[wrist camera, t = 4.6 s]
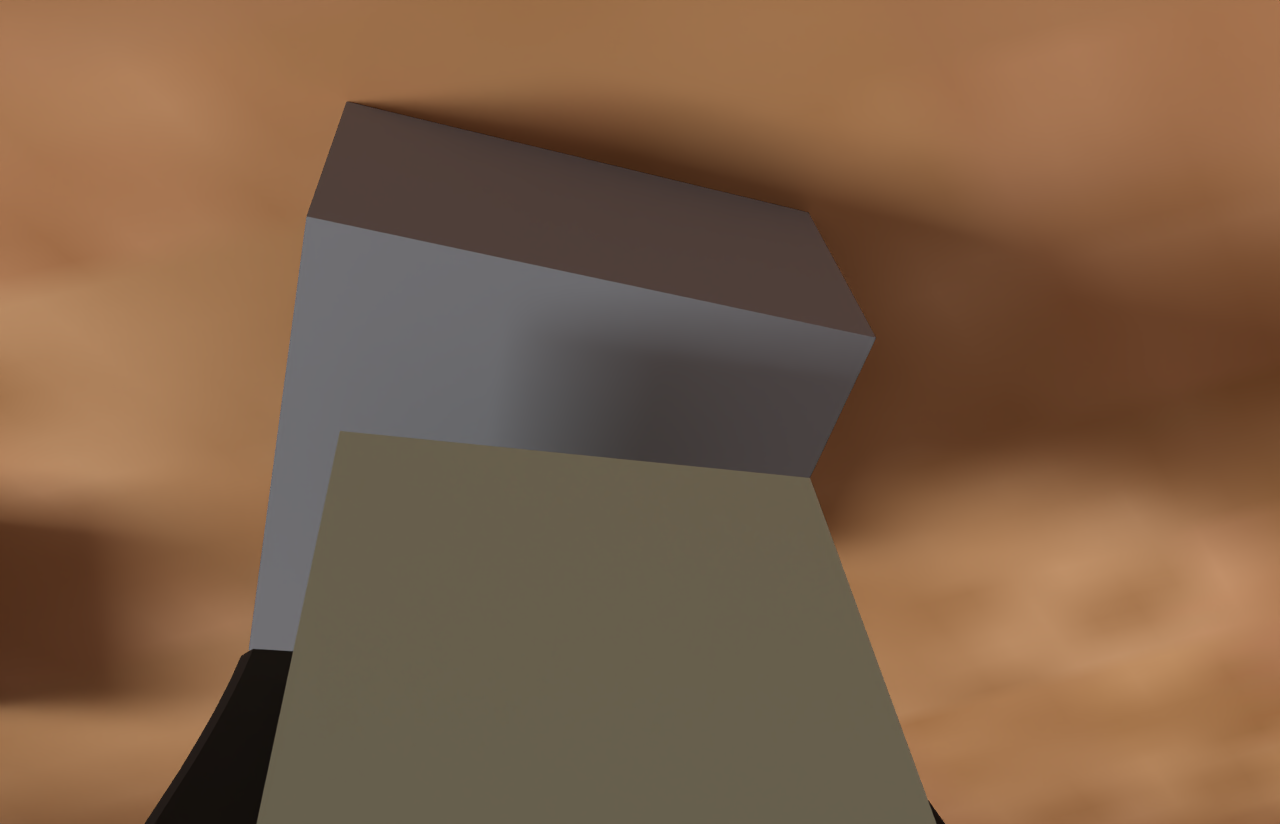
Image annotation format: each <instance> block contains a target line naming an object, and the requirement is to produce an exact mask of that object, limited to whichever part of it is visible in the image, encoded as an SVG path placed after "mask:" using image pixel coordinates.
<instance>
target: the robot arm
mask: <svg viewBox="0 0 1280 824" xmlns="http://www.w3.org/2000/svg"><path fill="white" fill-rule="evenodd" d="M292 654H293V651H282V650H266V649H252V650H250V651H249V652H247V653H245V654H244V655H242V656H241V658H240V660H239V662H238V664H237V667H236V669H235V671H234V673H233V676H232V678H231V680H230V682H229V684H228V686H227V688H226V690H225V692H224V694H223V696H222V698H221V699H220V701H219V703H218V705H217V707H216V709H215V711H214V713H213V714H212V716H211V718H210V720H209V722H208V723H207V725H206V727H205V729H204V730H203V732H202V734H201V736H200V737H199V739H198V741H197V742H196V744H195V746H194V747H193V749H192V751H191V752H190V754H189V756H188V757H187V759H186V761H185V762H184V764H183V766H182V767H181V769H180V770H179V772H178V774H177V775H176V777H175V778H174V780H173V781H172V783H171V784H170V786H169V787H168V789H167V790H166V792H165V793H164V795H163V797H162V798H161V800H160V801H159V803H158V804H157V806H156V807H155V809H154V810H153V812H152V813H151V815H150V816H149V818H148V819H147V821H146V822H145V824H257V819H258V815H259V810H260V805H261V801H262V796H263V791H264V786H265V782H266V777H267V772H268V768H269V763H270V758H271V753H272V749H273V744H274V739H275V735H276V730H277V725H278V720H279V716H280V711H281V706H282V702H283V697H284V692H285V687H286V683H287V678H288V673H289V669H290V664H291V659H292ZM928 802H929V801H928ZM929 805H930V807H931V810H932V813H933V816H934V818H935V821H936V824H945V823H944V822H943V820H942V819H941V817H940V816H939V815H938V813H937V812H936V810H935V809H934V808H933V806H932V805H931V803H930V802H929Z"/></svg>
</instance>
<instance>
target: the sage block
mask: <svg viewBox="0 0 1280 824" xmlns="http://www.w3.org/2000/svg"><path fill="white" fill-rule="evenodd" d="M257 824H936V821H935V818H934V816H933V813H932V810H931V807H930V805H929V802H928V799H927V796H926V794H925V791H924V788H923V786H922V783H921V780H920V777H919V775H918V772H917V769H916V766H915V764H914V761H913V758H912V755H911V753H910V750H909V747H908V745H907V742H906V739H905V736H904V734H903V731H902V728H901V725H900V723H899V720H898V717H897V714H896V712H895V709H894V706H893V704H892V701H891V698H890V695H889V693H888V690H887V687H886V684H885V682H884V679H883V676H882V673H881V671H880V668H879V665H878V662H877V660H876V657H875V654H874V652H873V649H872V646H871V643H870V641H869V638H868V635H867V632H866V630H865V627H864V624H863V621H862V619H861V616H860V613H859V611H858V608H857V605H856V602H855V600H854V597H853V594H852V591H851V589H850V586H849V583H848V580H847V578H846V575H845V572H844V570H843V567H842V564H841V561H840V559H839V556H838V553H837V550H836V548H835V545H834V542H833V539H832V537H831V534H830V531H829V528H828V526H827V523H826V520H825V518H824V515H823V512H822V509H821V507H820V504H819V501H818V498H817V496H816V493H815V490H814V487H813V485H812V482H811V479H810V478H805V477H795V476H785V475H775V474H765V473H755V472H745V471H735V470H726V469H716V468H706V467H696V466H686V465H676V464H666V463H656V462H646V461H636V460H626V459H616V458H606V457H596V456H586V455H576V454H566V453H556V452H546V451H536V450H526V449H516V448H506V447H496V446H486V445H476V444H466V443H456V442H446V441H436V440H426V439H416V438H406V437H396V436H386V435H376V434H366V433H356V432H346V431H340V433H339V438H338V442H337V447H336V452H335V456H334V461H333V466H332V471H331V475H330V480H329V485H328V489H327V494H326V499H325V504H324V508H323V513H322V518H321V522H320V527H319V532H318V537H317V541H316V546H315V551H314V555H313V560H312V565H311V570H310V574H309V579H308V584H307V588H306V593H305V598H304V603H303V607H302V612H301V617H300V621H299V626H298V631H297V636H296V640H295V645H294V650H293V654H292V659H291V664H290V669H289V673H288V678H287V683H286V687H285V692H284V697H283V702H282V706H281V711H280V716H279V720H278V725H277V730H276V735H275V739H274V744H273V749H272V753H271V758H270V763H269V768H268V772H267V777H266V782H265V786H264V791H263V796H262V801H261V805H260V810H259V815H258V819H257Z"/></svg>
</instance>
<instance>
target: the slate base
mask: <svg viewBox="0 0 1280 824" xmlns="http://www.w3.org/2000/svg"><path fill="white" fill-rule="evenodd" d="M875 339H876V337H875V335H874V333H873V331H872V329H871V328H870V326H869V324H868V322H867V320H866V318H865V316H864V315H863V313H862V311H861V309H860V307H859V305H858V303H857V302H856V300H855V298H854V296H853V294H852V292H851V290H850V289H849V287H848V285H847V283H846V281H845V279H844V277H843V276H842V274H841V272H840V270H839V268H838V266H837V265H836V263H835V261H834V259H833V257H832V255H831V253H830V252H829V250H828V248H827V246H826V244H825V242H824V240H823V239H822V237H821V235H820V233H819V231H818V229H817V227H816V226H815V224H814V222H813V220H812V218H811V216H810V214H809V213H808V212H805V211H800V210H796V209H792V208H788V207H784V206H780V205H775V204H771V203H767V202H763V201H759V200H755V199H750V198H746V197H742V196H738V195H734V194H730V193H726V192H721V191H717V190H713V189H709V188H705V187H701V186H696V185H692V184H688V183H684V182H680V181H676V180H671V179H667V178H663V177H659V176H655V175H651V174H647V173H642V172H638V171H634V170H630V169H626V168H622V167H617V166H613V165H609V164H605V163H601V162H597V161H592V160H588V159H584V158H580V157H576V156H572V155H568V154H563V153H559V152H555V151H551V150H547V149H543V148H538V147H534V146H530V145H526V144H522V143H518V142H513V141H509V140H505V139H501V138H497V137H493V136H489V135H484V134H480V133H476V132H472V131H468V130H464V129H459V128H455V127H451V126H447V125H443V124H439V123H434V122H430V121H426V120H422V119H418V118H414V117H410V116H405V115H401V114H397V113H393V112H389V111H385V110H380V109H376V108H372V107H368V106H364V105H360V104H355V103H351V102H346V105H345V108H344V111H343V114H342V117H341V119H340V122H339V125H338V128H337V131H336V134H335V137H334V139H333V142H332V145H331V148H330V151H329V154H328V157H327V159H326V162H325V165H324V168H323V171H322V174H321V177H320V180H319V182H318V185H317V188H316V191H315V194H314V197H313V200H312V202H311V205H310V208H309V211H308V214H307V217H306V225H305V232H304V240H303V247H302V255H301V262H300V270H299V277H298V285H297V292H296V300H295V307H294V315H293V322H292V330H291V337H290V345H289V352H288V360H287V367H286V375H285V382H284V390H283V397H282V405H281V412H280V420H279V427H278V435H277V442H276V450H275V457H274V465H273V472H272V480H271V487H270V495H269V502H268V510H267V517H266V525H265V532H264V540H263V547H262V555H261V562H260V570H259V577H258V585H257V592H256V600H255V607H254V614H253V622H252V629H251V637H250V644H249V650H252V649H266V650H282V651H293V650H294V645H295V640H296V636H297V631H298V626H299V621H300V617H301V612H302V607H303V603H304V598H305V593H306V588H307V584H308V579H309V574H310V570H311V565H312V560H313V555H314V551H315V546H316V541H317V537H318V532H319V527H320V522H321V518H322V513H323V508H324V504H325V499H326V494H327V489H328V485H329V480H330V475H331V471H332V466H333V461H334V456H335V452H336V447H337V442H338V438H339V433H340V431H346V432H356V433H366V434H376V435H386V436H396V437H406V438H416V439H426V440H436V441H446V442H456V443H466V444H476V445H486V446H496V447H506V448H516V449H526V450H536V451H546V452H556V453H566V454H576V455H586V456H596V457H606V458H616V459H626V460H636V461H646V462H656V463H666V464H676V465H686V466H696V467H706V468H716V469H726V470H735V471H745V472H755V473H765V474H775V475H785V476H795V477H805V478H810V476H811V474H812V472H813V470H814V468H815V466H816V464H817V462H818V460H819V457H820V455H821V453H822V451H823V449H824V447H825V445H826V443H827V440H828V438H829V436H830V434H831V432H832V430H833V428H834V426H835V424H836V421H837V419H838V417H839V415H840V413H841V411H842V409H843V407H844V405H845V402H846V400H847V398H848V396H849V394H850V392H851V390H852V388H853V385H854V383H855V381H856V379H857V377H858V375H859V373H860V371H861V369H862V366H863V364H864V362H865V360H866V358H867V356H868V354H869V352H870V350H871V347H872V345H873V343H874V341H875Z"/></svg>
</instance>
